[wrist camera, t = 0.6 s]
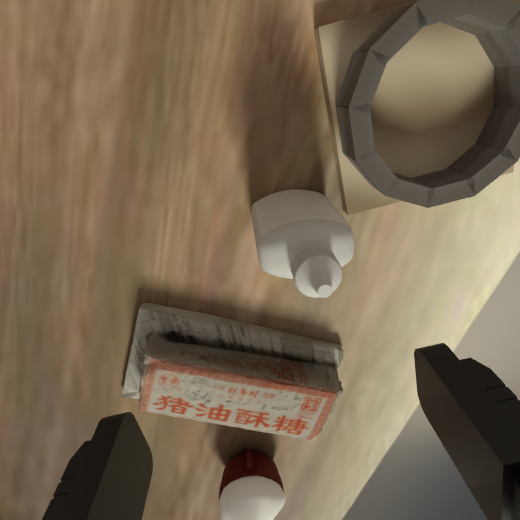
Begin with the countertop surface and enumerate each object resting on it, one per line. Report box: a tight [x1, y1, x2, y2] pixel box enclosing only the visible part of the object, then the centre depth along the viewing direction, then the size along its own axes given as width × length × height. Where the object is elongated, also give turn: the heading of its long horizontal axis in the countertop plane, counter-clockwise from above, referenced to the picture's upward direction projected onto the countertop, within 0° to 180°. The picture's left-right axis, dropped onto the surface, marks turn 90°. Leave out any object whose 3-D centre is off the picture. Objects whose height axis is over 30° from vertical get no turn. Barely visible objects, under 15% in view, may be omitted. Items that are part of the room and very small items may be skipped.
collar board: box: [314, 0, 520, 215], centre depth 24 cm, size 12×12×4 cm
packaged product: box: [122, 302, 343, 440], centre depth 32 cm, size 18×5×10 cm
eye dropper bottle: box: [251, 189, 354, 298], centre depth 23 cm, size 4×6×12 cm
